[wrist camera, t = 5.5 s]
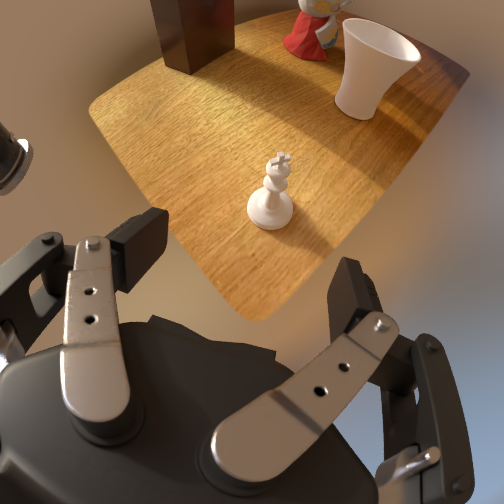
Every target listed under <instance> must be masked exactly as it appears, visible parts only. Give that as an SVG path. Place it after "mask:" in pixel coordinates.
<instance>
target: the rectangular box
mask: <svg viewBox="0 0 504 504" xmlns="http://www.w3.org/2000/svg"><path fill="white" fill-rule="evenodd" d="M150 2H151V7H152V12H153V16H154V20H155V25H156V29H157V33H158V38H159V41H160V46H161V50H162V54H163V58H164V62H165V66H168V67H170V68H173V69H176V70H179V71H181V72H184V73H187V74H189V75H191V74H193V73H194V72H196V71H197V70H199V69H200V68H202V67H204V66H205V65H207V64H208V63H210V62H212V61H213V60H215V59H217V58H218V57H220V56H222V55H223V54H225V53H227V52H229V51H230V50H232V49H234V48H235V33H234V0H150Z"/></svg>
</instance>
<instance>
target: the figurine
mask: <svg viewBox="0 0 504 504" xmlns="http://www.w3.org/2000/svg"><path fill="white" fill-rule="evenodd" d="M352 1H354V0H348V1H346V2H345V3H343V4H342V5H341V6H340V4H339V3H338V0H299V5H300V8H301V12H300V14H299V16H298V18H297V20H296V22H295V25H294V28H293V31H292V33H291V34H290V35H288V36H286V37H285V38H284V45H285V47H286V49H287V50H289V51H290V52H291V53H292V54H294V55H296V56H298V57H299V58H303V59H309V60H328V59H327V57H326V54H325V51H324V49H326V48H329V47H332V46H334V45H335V43H336V41H337V38H338V28H337V24H336V20H335V16H337V15H338V14H339V13H340V12H342V10H341V9H342V8H344V7H345V6H346V5H348V4H349V3H351V2H352Z"/></svg>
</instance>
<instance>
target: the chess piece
mask: <svg viewBox="0 0 504 504" xmlns="http://www.w3.org/2000/svg"><path fill="white" fill-rule="evenodd" d="M288 161H291V157H290V155H289V154H286V155H285V154H284V153H283V151H281V152H277V157H275V158H272V159H269V162H268V163H267V165H266V171H267V174H268V175H267V176H266V177H265V178H264V182H263V183H264V187H263V188H260V189H258V190H257V191H255V192H254V193H253V194H252V195H251V197H250V199H249V202H248V205H247V211H248V215H249V217H250V219H251V221H252V222H253V223H254V224H255V225H257V226H258V227H260V228H262V229H266V230H276V229H280V228H282V227H284V226H285V225H286V224H287V223H288V222H289V221H290V219H291V217H292V214H293V204H292V201H291V199H290V197H289V196H288V194H287V193H286V192H284V190H285V189H286V188H287V180H286V178H287V177H288V175H289V174H290V166H289V164H288V163H287V162H288Z"/></svg>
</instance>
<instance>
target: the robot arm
mask: <svg viewBox="0 0 504 504" xmlns="http://www.w3.org/2000/svg"><path fill="white" fill-rule="evenodd" d="M23 150H24V149H23V146H22V144H21V143H20V142H18V141H17V140H16V139H15V138H14V134H13V133H12V131H11V133H10V132H9V131H8V130H7V129H6V128H5V127H4V126H3V125H2V124H1V122H0V185H1V184H3V183H5V182H6V181H7V180H8V179H9V178H10V177H11V176H12V174H13V173H14V172H15V170H16V169H17V167H18V165H19V163H20V161H21V159H22V156H23ZM168 221H169V213H168V211H167V210H163V209H159V208H155V207H152V208H150V209H149V210H147V211H146V212H144V213H143V214H142V215H141V214H140V215H137V216H134V217H131V218H130V219H128V220H127V221H125V222H124V223H123V224H121V225H120V226H119V227H117V228H116V229H114V230H113V231H112V232H110V233H109V234H108V235H106V236H105V237H101V236H91V237H87V238H84V239H82V240H81V241H80V242H78V244H77V246H69V245H64V243H63V237H62V235H61V234H60V233H57V232H48V233H44V234H41V235H40V236H38V237H36V238H35V239H34V240H33V241H31V242H30V243H28V244H27V245H26V246H24V247H23V248H22V249H21V250H19V251H18V252H17V253H15V254H14V255H13V256H12V257H11V258H9V259H8V260H7V261H6V262H5V263H3V264H2V265H1V266H0V504H465V503H466V502H467V501H468V500H469V499H470V498H471V496H472V494H473V491H474V487H475V479H474V469H473V462H472V454H471V448H470V442H469V436H468V431H467V426H466V421H465V417H464V413H463V409H462V405H461V401H460V397H459V394H458V390H457V386H456V383H455V380H454V376H453V373H452V370H451V367H450V364H449V361H448V358H447V356H446V353H445V350H444V347H443V346H442V344H441V343H440V342H439V340H437V339H436V338H435V337H433V336H432V335H429V334H425V333H423V334H420V335H419V336H418V337H417V339H416V340H415V341H412V340H410V339H408V338H406V337H404V336H402V335H400V334H399V327H398V325H397V323H396V322H395V321H394V319H392V318H391V317H390V316H388V315H387V314H385V313H383V310H382V307H381V304H380V301H379V298H378V297H377V296H378V295H377V292H376V290H375V286H374V283H373V282H372V280H371V279H370V278H369V276H368V275H367V274H364V273H363V271H362V268H361V265H360V263H359V261H357V260H353V259H350V258H346V257H342V259H341V260H340V263H339V265H338V267H337V270H336V272H335V275H334V277H333V279H332V282H331V284H330V286H329V290H328V294H327V303H328V313H329V326H330V340H331V344H330V345H329V346H328V347H327V348H326V349H325V350H323V351H322V352H321V353H320V354H319V355H318V356H316V357H315V358H314V359H313V360H312V361H311V362H309V363H308V364H307V365H305V366H304V367H303V368H302V369H301V370H299V371H298V372H297V373H296V374H295V373H294V372H293V371H291V370H290V369H289V368H287V367H286V366H284V365H282V364H281V363H279V362H277V361H275V356H276V351H273V350H269V349H265V348H261V347H257V346H253V345H250V344H245V343H234V342H222V341H212V340H209V339H206V338H205V337H203V336H201V335H199V334H197V333H195V332H194V331H192V330H190V329H188V328H187V327H185V326H183V325H181V324H178V323H175V322H172V321H170V320H167V319H164V318H161V317H158V316H155V315H152V316H151V318H150V319H149V321H148V322H147V323H146V322H127V323H122V324H119V318H118V312H117V304H116V297H115V293H116V292H117V290H119V291H122V292H124V293H127V294H128V293H129V292H130V291H131V289H132V288H133V287H134V286H135V285H136V283H137V282H138V281H139V280H140V279H141V278H142V277H143V275H144V274H145V273H146V272H147V271H148V270H149V269H150V268H151V266H152V265H153V264H154V263H155V262H156V261H157V260H158V259H159V257H160V256H161V255H162V254H163V253H164V251H165V248H166V245H167V236H168ZM40 273H41V277H42V281H43V285H42V286H41V287H40V288H39V289H38V290H37V291H36V293H34V294H33V296H31V297H30V295H29V286H30V283H31V282H32V280H34V279H35V278H36V277H37V276H38V275H39V274H40ZM64 305H65V314H64V342H63V344H60V345H57V346H54V347H51V348H48V349H46V350H43V351H39V352H36V353H34V354H30V355H27V356H25V354H26V352H27V351H28V350H29V348H30V347H31V346H32V344H33V343H34V342H35V340H36V339H37V338H38V337H39V335H40V334H41V333H42V331H43V330H44V329H45V328H46V327H47V325H48V324H49V323H50V322H51V320H52V319H53V318H54V317H55V316H56V314H57V313H58V312H59V311H60V310H61V309H62V307H63V306H64ZM367 381H368V382H370V383H373V384H375V385H377V386H380V390H381V401H382V414H383V433H384V462H382V463H381V464H380V466H379V467H378V469H377V471H376V475H375V478H374V477H373V476H372V475H371V473H370V472H369V470H368V469H367V468H366V467H365V465H364V464H363V463H362V462H361V460H360V459H359V458H358V456H357V455H356V454H355V452H354V451H353V450H352V448H351V447H350V446H349V444H348V443H347V442H346V440H345V439H344V438H343V436H342V435H341V434H340V432H339V431H338V429H337V428H336V427H335V425H334V424H333V423H332V422H333V421H334V420H335V419H336V418H337V417H338V416H339V414H340V413H341V412H342V411H343V410H344V409H345V408H346V406H347V405H348V404H349V403H350V402H351V400H352V399H353V398H354V397H355V396H356V394H357V393H358V392H359V390H360V389H361V388H362V387H363V385H364V384H365V383H366V382H367ZM417 387H418V390H419V401H418V404H417V405H416V400H415V394H414V390H415V389H416V388H417Z"/></svg>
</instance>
